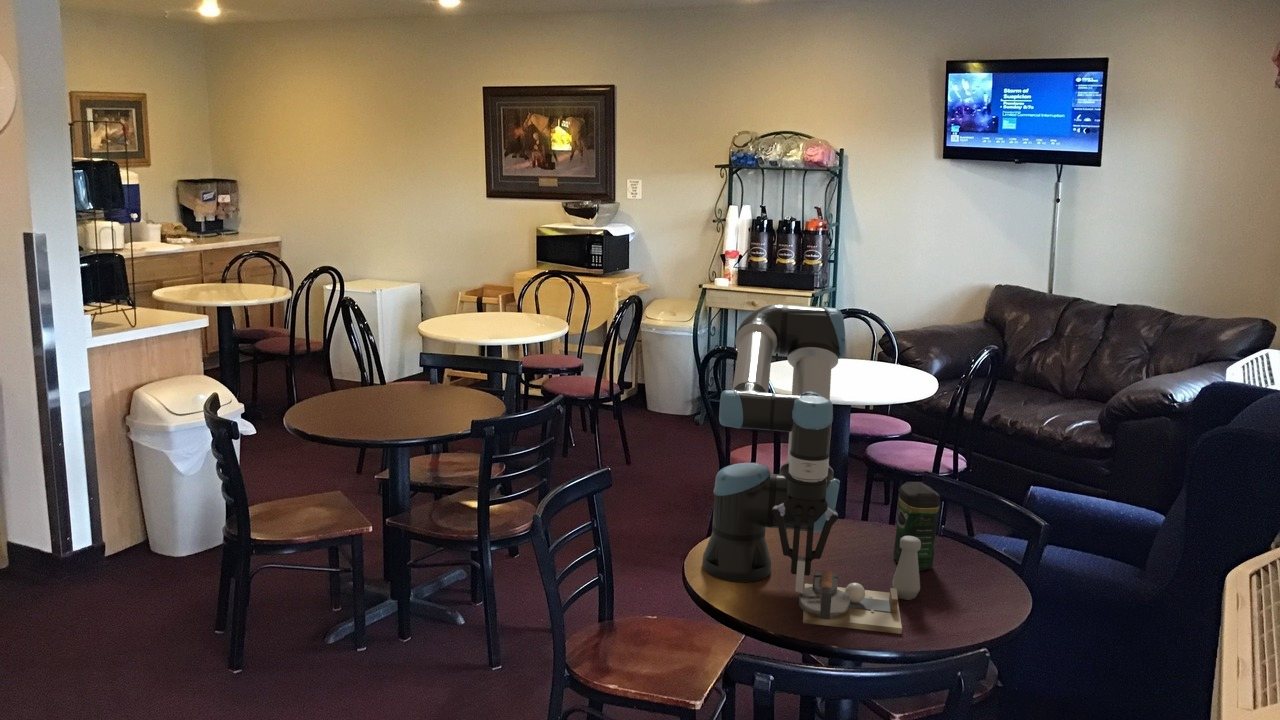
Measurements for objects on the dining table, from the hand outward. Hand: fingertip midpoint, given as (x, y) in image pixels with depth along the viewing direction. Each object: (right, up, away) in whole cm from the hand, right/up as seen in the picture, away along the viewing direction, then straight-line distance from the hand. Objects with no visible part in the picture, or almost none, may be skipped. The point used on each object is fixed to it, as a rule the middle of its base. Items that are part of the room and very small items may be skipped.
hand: (799, 589), depth 207 cm
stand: (+11, -5, +5) cm, 13 cm away
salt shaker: (+24, -4, +13) cm, 28 cm away
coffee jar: (+30, -1, +30) cm, 42 cm away
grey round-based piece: (+5, -4, +1) cm, 7 cm away
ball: (+12, -4, +6) cm, 14 cm away
